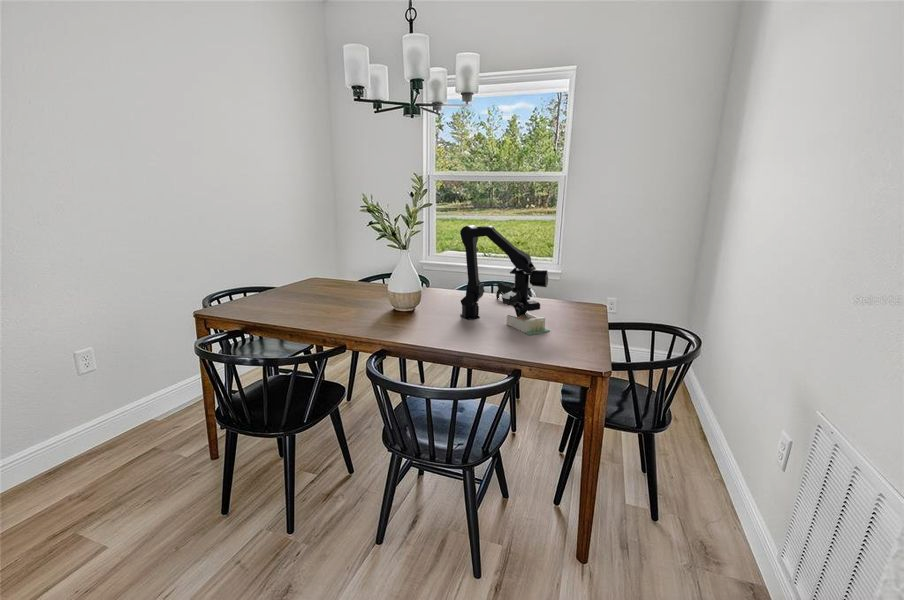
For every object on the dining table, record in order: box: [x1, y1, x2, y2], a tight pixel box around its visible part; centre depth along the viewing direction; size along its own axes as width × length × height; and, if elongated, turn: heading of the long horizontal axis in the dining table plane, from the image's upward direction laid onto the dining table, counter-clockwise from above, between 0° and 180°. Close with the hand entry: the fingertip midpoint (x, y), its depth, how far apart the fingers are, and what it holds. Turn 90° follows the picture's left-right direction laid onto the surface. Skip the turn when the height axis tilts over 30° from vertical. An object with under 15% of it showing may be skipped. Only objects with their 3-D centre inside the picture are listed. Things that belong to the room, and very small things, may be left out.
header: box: [506, 311, 551, 336], centre depth 170 cm, size 11×15×5 cm
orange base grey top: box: [518, 313, 533, 321], centre depth 172 cm, size 4×5×5 cm
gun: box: [495, 281, 513, 300], centre depth 208 cm, size 3×16×10 cm, turn 54°
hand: (519, 321), depth 176 cm, fingers closed
